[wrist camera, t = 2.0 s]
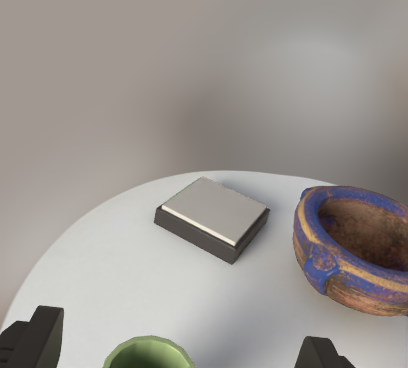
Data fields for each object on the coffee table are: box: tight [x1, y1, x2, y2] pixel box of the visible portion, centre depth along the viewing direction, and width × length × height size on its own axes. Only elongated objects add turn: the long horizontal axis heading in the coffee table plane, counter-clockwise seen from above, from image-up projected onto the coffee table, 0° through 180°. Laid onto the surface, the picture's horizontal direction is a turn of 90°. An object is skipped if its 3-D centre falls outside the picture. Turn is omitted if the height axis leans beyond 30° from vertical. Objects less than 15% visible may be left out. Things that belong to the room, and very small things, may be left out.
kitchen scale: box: [154, 177, 270, 264], centre depth 53 cm, size 12×12×3 cm
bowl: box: [293, 186, 408, 316], centre depth 46 cm, size 18×18×10 cm
